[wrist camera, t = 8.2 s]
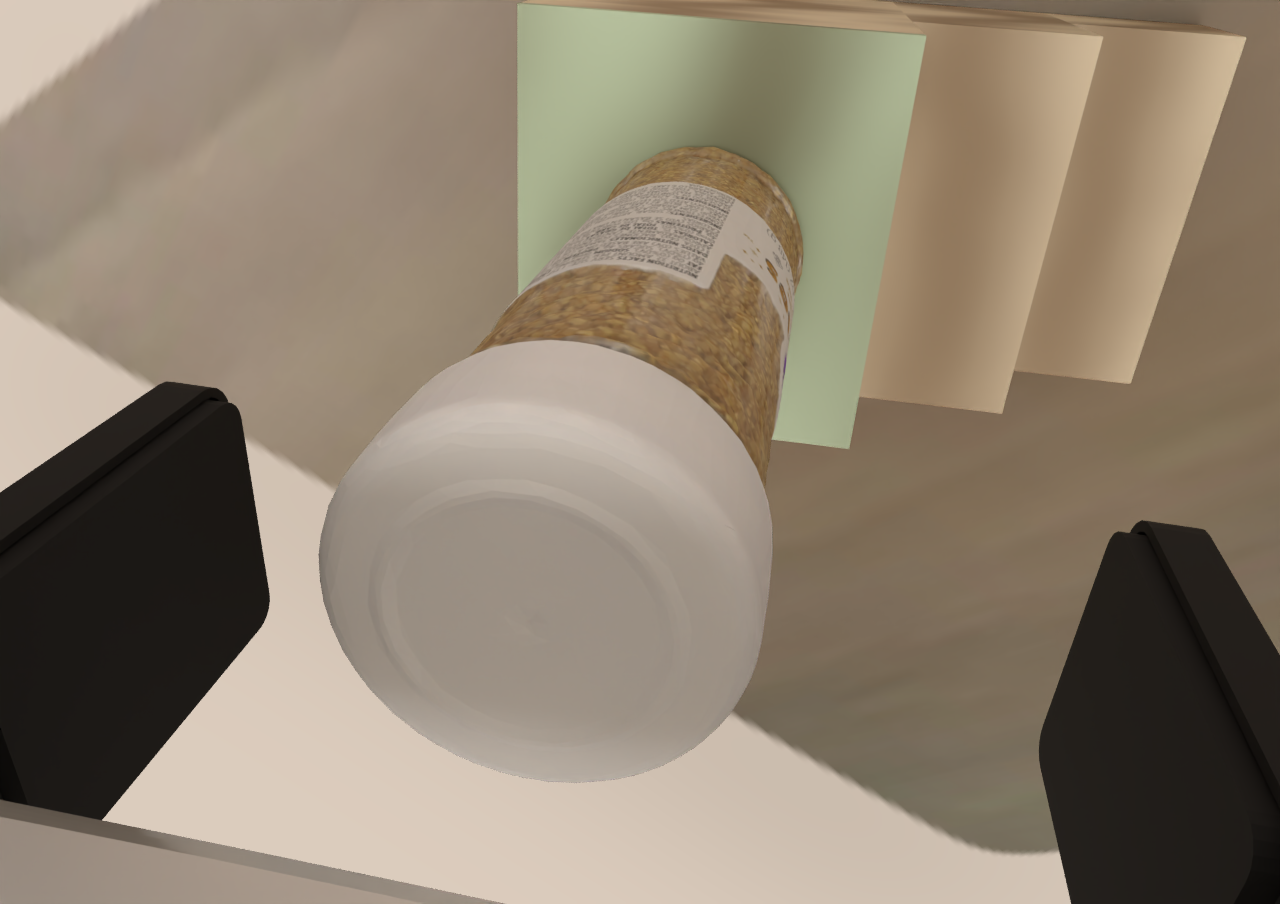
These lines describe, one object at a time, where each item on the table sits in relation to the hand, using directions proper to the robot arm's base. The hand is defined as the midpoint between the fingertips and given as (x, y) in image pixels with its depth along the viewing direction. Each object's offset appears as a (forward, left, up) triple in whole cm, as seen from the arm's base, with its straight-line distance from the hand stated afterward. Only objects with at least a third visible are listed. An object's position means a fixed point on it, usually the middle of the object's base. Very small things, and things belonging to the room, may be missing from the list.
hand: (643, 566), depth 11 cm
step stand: (-3, 0, -21) cm, 21 cm away
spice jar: (+1, 0, -12) cm, 12 cm away
